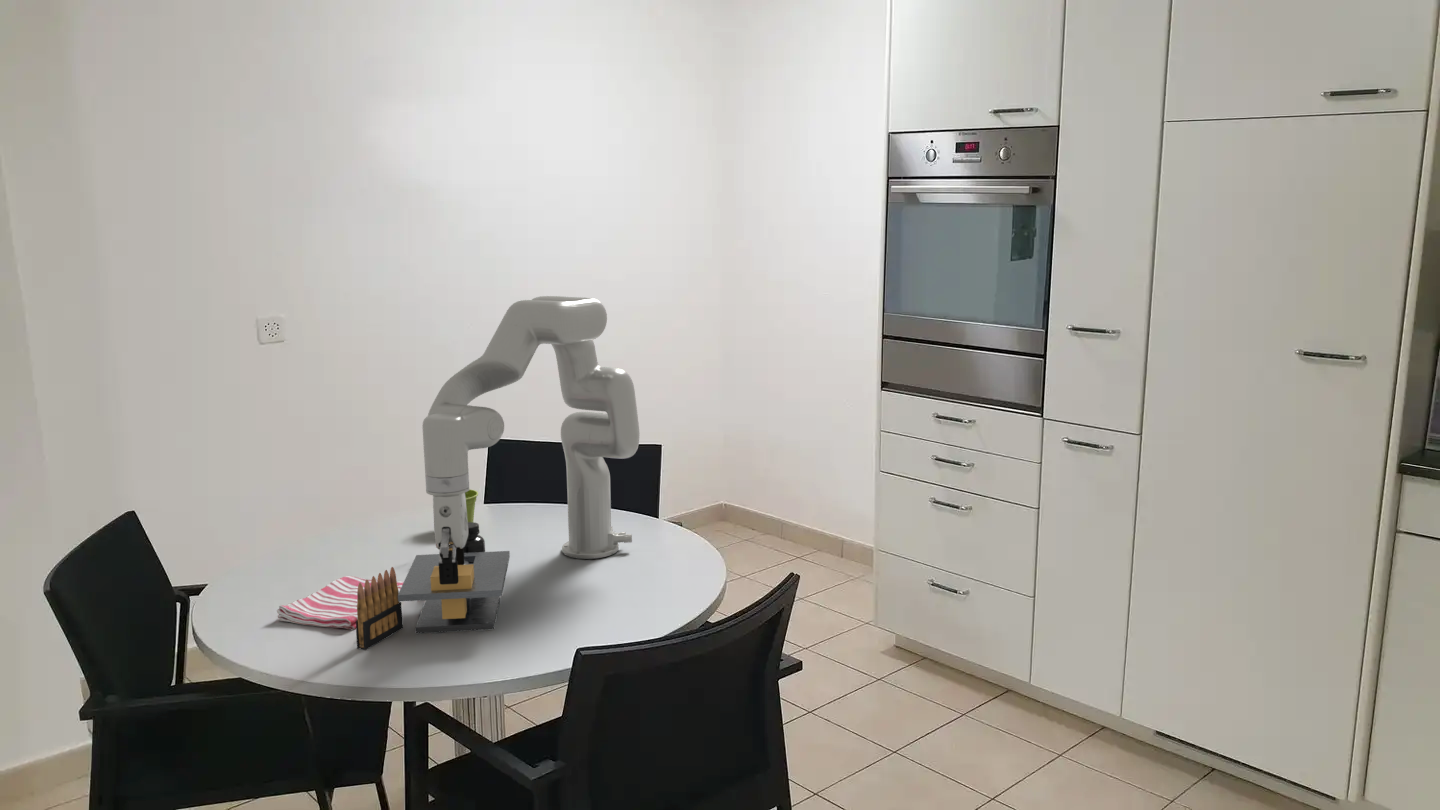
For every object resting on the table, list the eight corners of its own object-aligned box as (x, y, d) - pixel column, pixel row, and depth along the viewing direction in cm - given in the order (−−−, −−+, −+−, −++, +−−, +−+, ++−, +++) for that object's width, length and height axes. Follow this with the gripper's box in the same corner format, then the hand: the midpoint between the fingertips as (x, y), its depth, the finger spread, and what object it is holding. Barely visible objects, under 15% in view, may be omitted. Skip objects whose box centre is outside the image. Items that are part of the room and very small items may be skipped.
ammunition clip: (395, 626, 197) (391, 564, 195) (403, 627, 197) (399, 565, 194) (356, 648, 187) (352, 583, 185) (365, 650, 187) (360, 585, 185)
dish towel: (273, 625, 199) (272, 607, 199) (349, 583, 221) (348, 567, 221) (352, 634, 195) (351, 616, 194) (422, 590, 217) (421, 574, 216)
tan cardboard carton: (475, 607, 198) (473, 564, 196) (472, 620, 192) (470, 575, 190) (437, 610, 197) (434, 566, 195) (433, 622, 191) (430, 577, 189)
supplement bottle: (493, 577, 223) (490, 522, 221) (475, 588, 217) (472, 531, 214) (464, 573, 225) (461, 519, 223) (446, 584, 219) (443, 528, 217)
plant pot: (474, 534, 252) (473, 499, 250) (435, 535, 252) (432, 499, 250) (483, 523, 261) (482, 488, 259) (445, 523, 261) (443, 489, 259)
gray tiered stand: (511, 593, 213) (509, 543, 211) (503, 637, 192) (501, 581, 190) (419, 598, 211) (415, 547, 209) (400, 643, 190) (397, 587, 188)
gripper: (463, 494, 182) (468, 590, 185) (473, 470, 199) (477, 557, 202) (418, 496, 181) (424, 592, 184) (432, 471, 198) (437, 559, 201)
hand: (452, 574), depth 193 cm, fingers open, 9 cm apart
